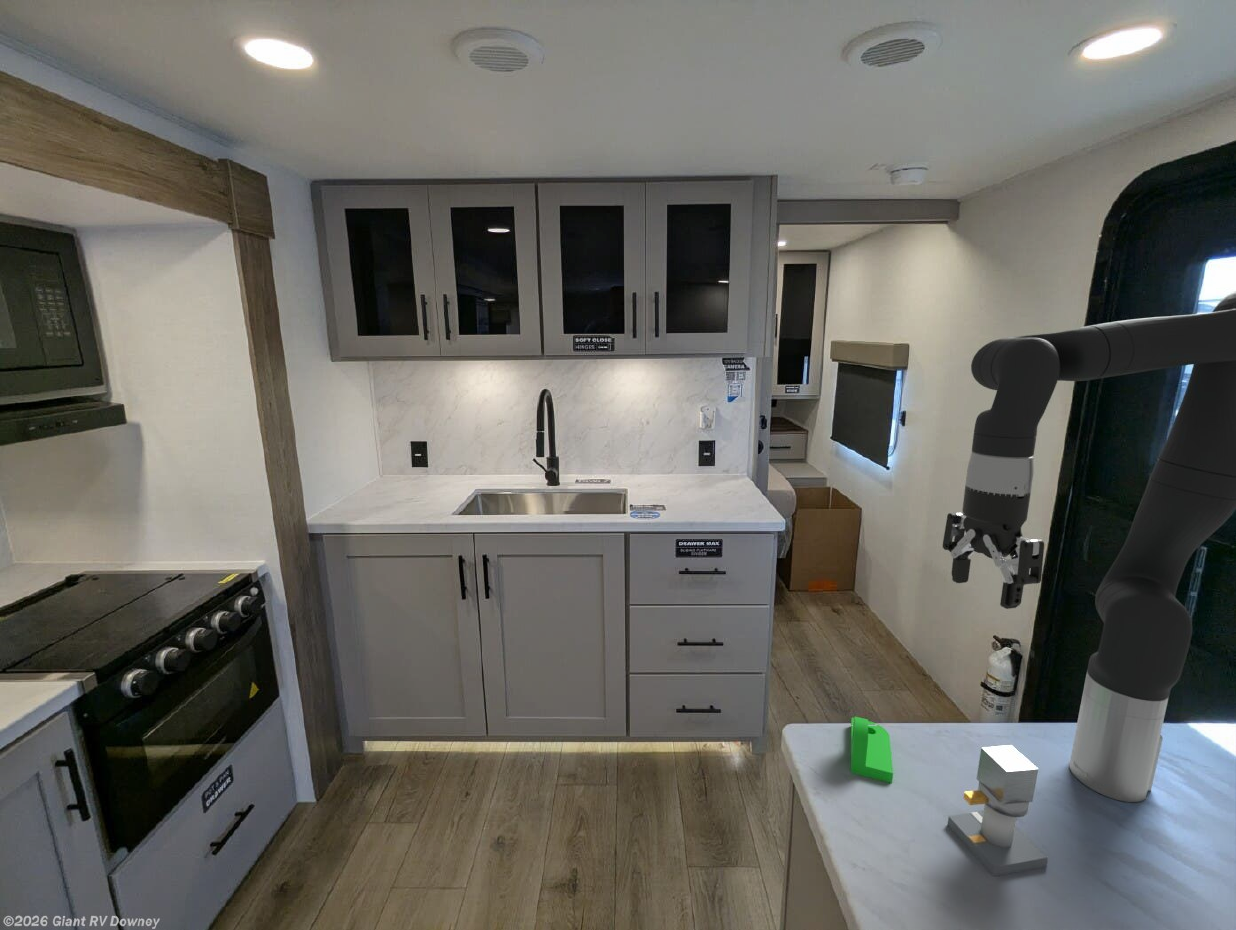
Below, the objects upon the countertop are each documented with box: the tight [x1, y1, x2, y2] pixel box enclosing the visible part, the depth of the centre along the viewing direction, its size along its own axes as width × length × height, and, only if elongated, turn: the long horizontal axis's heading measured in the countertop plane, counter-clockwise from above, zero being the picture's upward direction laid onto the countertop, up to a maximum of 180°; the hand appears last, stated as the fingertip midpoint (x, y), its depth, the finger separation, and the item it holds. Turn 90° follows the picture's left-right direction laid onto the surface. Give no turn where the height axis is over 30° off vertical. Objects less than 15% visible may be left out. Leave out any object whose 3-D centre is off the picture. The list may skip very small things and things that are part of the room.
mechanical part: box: [850, 716, 894, 784], centre depth 92 cm, size 12×6×8 cm, turn 157°
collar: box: [963, 744, 1039, 818], centre depth 73 cm, size 6×8×7 cm
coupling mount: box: [947, 804, 1049, 877], centre depth 75 cm, size 8×8×7 cm
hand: (983, 594), depth 79 cm, fingers open, 8 cm apart
